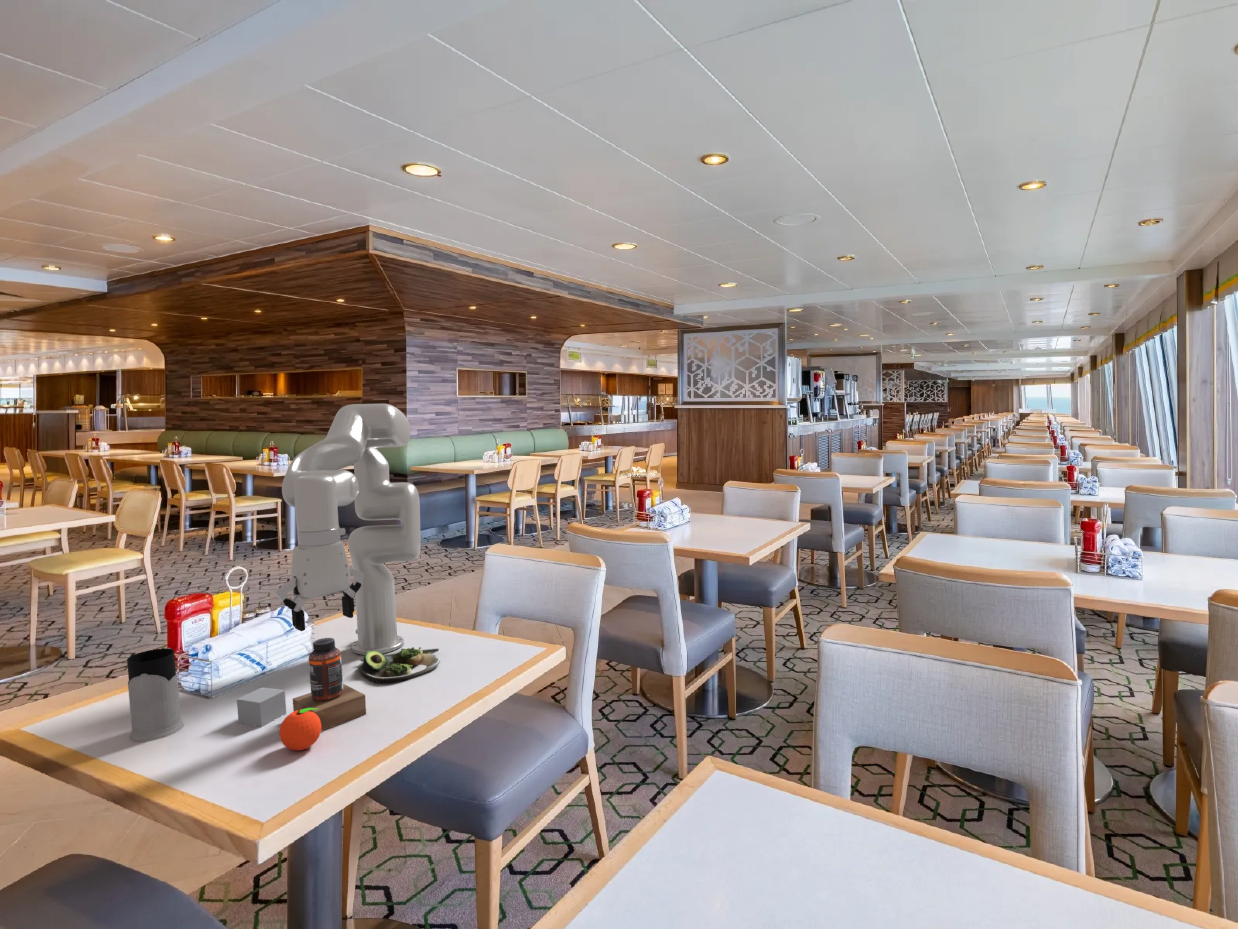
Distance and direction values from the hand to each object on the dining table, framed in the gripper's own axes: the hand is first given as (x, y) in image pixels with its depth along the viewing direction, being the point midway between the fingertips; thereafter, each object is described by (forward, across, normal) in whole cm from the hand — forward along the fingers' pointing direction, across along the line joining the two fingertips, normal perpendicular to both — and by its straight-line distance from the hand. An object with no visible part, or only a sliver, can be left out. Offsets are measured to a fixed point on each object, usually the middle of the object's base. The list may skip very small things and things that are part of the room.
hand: (324, 622), depth 135 cm
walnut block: (+19, 0, 0) cm, 19 cm away
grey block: (+19, +9, -10) cm, 23 cm away
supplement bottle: (+15, 0, 0) cm, 15 cm away
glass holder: (+19, +23, -23) cm, 38 cm away
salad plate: (+20, -22, -12) cm, 32 cm away
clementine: (+19, +9, +9) cm, 23 cm away
